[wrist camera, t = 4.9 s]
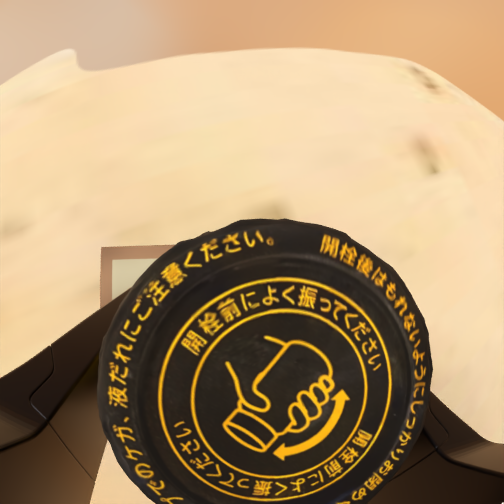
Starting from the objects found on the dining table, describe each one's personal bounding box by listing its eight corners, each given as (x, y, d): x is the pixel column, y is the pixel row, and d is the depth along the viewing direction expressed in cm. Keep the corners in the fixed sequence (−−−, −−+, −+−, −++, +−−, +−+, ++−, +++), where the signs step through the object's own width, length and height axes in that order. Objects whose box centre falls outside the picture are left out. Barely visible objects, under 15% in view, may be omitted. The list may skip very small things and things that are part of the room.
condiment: (165, 276, 15) (78, 140, 4) (322, 288, 17) (505, 209, 5) (157, 414, 14) (74, 567, 2) (316, 417, 15) (482, 513, 3)
